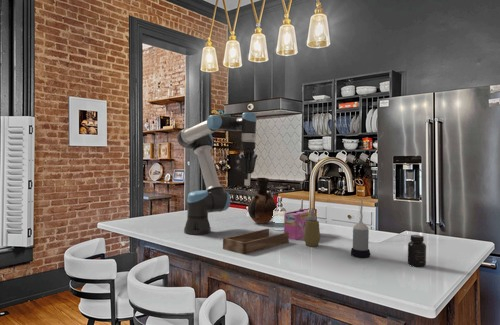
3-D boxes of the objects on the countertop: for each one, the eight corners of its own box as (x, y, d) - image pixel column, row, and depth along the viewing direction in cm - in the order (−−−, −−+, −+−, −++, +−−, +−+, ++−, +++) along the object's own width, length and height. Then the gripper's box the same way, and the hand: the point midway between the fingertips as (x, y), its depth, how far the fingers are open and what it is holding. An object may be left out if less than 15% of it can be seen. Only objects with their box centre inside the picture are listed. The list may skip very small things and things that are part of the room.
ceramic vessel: (262, 219, 255) (262, 176, 254) (282, 222, 243) (283, 177, 242) (241, 223, 239) (242, 177, 239) (261, 226, 227) (262, 178, 227)
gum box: (306, 231, 216) (306, 208, 216) (318, 233, 211) (318, 209, 211) (283, 238, 197) (283, 213, 197) (296, 240, 192) (296, 214, 192)
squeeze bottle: (321, 244, 184) (321, 208, 183) (318, 248, 176) (319, 210, 176) (305, 242, 186) (305, 207, 186) (302, 246, 179) (302, 209, 178)
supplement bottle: (404, 262, 153) (404, 234, 153) (419, 262, 153) (420, 234, 153) (413, 267, 146) (413, 237, 146) (429, 267, 147) (429, 237, 146)
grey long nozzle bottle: (373, 256, 163) (374, 200, 162) (364, 259, 157) (365, 201, 157) (356, 252, 169) (357, 198, 168) (347, 255, 163) (348, 199, 163)
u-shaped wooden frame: (222, 248, 172) (223, 238, 172) (267, 237, 196) (267, 228, 196) (244, 254, 163) (244, 243, 162) (288, 242, 187) (288, 232, 187)
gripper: (245, 141, 188) (244, 186, 189) (261, 142, 198) (260, 185, 199) (235, 141, 194) (233, 185, 194) (251, 142, 203) (250, 184, 204)
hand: (247, 185), depth 197 cm, fingers closed
